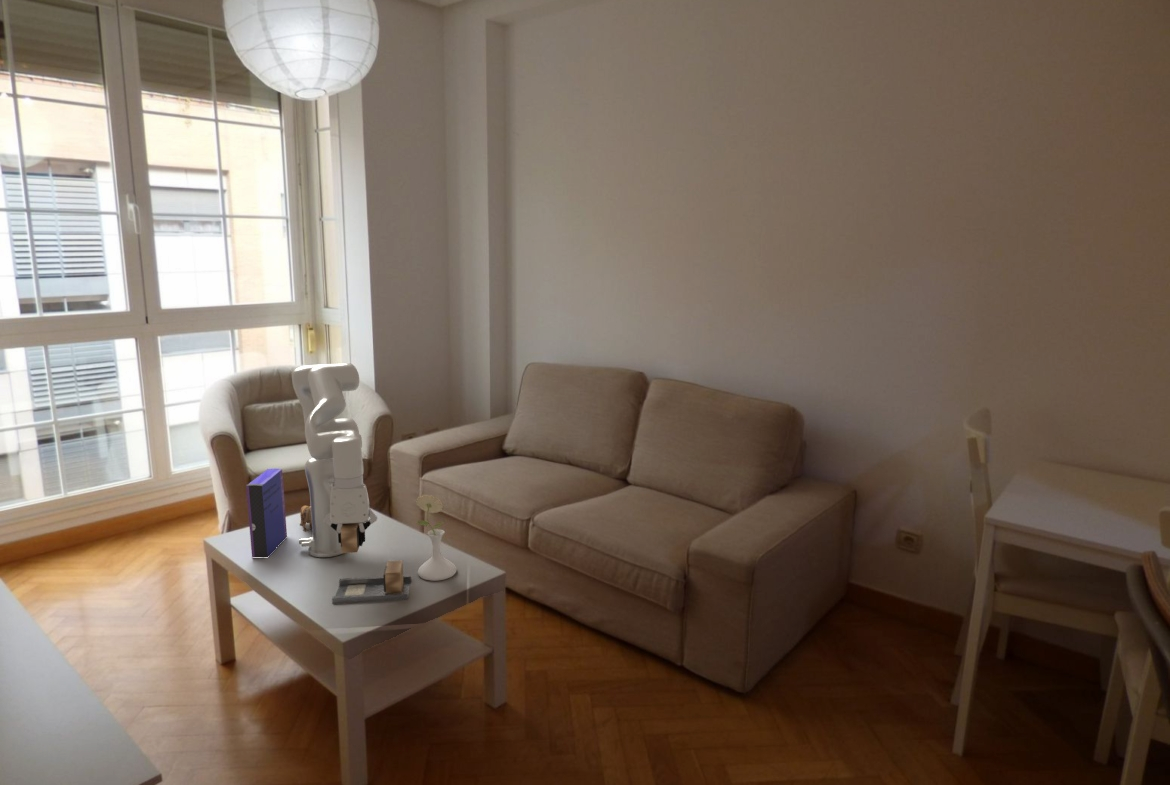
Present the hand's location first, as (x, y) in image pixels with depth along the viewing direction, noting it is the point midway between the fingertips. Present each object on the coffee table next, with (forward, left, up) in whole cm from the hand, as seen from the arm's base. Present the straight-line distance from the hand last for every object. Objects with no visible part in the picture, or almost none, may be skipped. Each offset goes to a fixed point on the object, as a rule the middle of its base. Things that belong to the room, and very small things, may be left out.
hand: (352, 544), depth 208 cm
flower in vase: (+22, +10, -16) cm, 29 cm away
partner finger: (+11, 0, -14) cm, 18 cm away
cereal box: (-32, +39, -16) cm, 53 cm away
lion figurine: (-24, +56, -16) cm, 63 cm away
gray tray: (+5, 0, -15) cm, 16 cm away
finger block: (0, 0, -1) cm, 1 cm away
